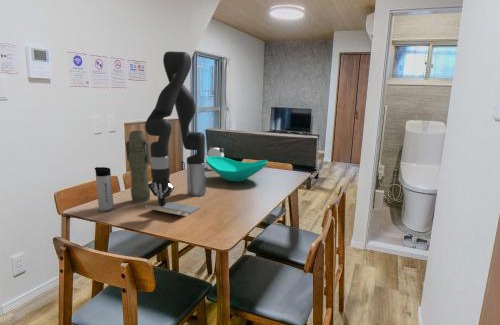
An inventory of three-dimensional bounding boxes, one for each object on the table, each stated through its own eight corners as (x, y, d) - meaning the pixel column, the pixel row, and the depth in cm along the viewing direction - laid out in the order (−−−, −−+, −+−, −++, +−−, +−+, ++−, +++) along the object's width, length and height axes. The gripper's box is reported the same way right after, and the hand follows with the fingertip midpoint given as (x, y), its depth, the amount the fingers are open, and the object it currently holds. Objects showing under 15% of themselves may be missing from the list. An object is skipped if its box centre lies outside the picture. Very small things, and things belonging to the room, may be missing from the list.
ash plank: (156, 210, 153) (157, 206, 153) (188, 216, 145) (189, 213, 145) (144, 207, 146) (145, 204, 146) (177, 214, 138) (178, 211, 138)
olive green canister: (134, 197, 171) (129, 129, 164) (156, 198, 169) (152, 130, 162) (125, 203, 162) (120, 131, 155) (148, 204, 161) (144, 132, 153)
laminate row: (169, 204, 161) (168, 201, 160) (199, 210, 153) (199, 207, 153) (158, 209, 154) (158, 206, 154) (190, 215, 146) (189, 212, 146)
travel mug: (102, 207, 156) (98, 166, 152) (116, 207, 156) (112, 166, 152) (95, 212, 150) (91, 169, 146) (110, 212, 150) (106, 169, 146)
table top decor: (273, 178, 212) (273, 157, 209) (258, 189, 186) (259, 166, 184) (217, 172, 225) (216, 153, 223) (196, 182, 200) (196, 161, 197)
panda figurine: (227, 167, 241) (226, 147, 238) (219, 170, 231) (219, 149, 228) (212, 165, 246) (212, 146, 243) (204, 169, 236) (204, 148, 233)
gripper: (178, 166, 139) (180, 205, 143) (154, 163, 145) (156, 201, 149) (166, 170, 133) (168, 211, 136) (141, 166, 138) (144, 206, 142)
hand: (162, 205), depth 142 cm, fingers closed
